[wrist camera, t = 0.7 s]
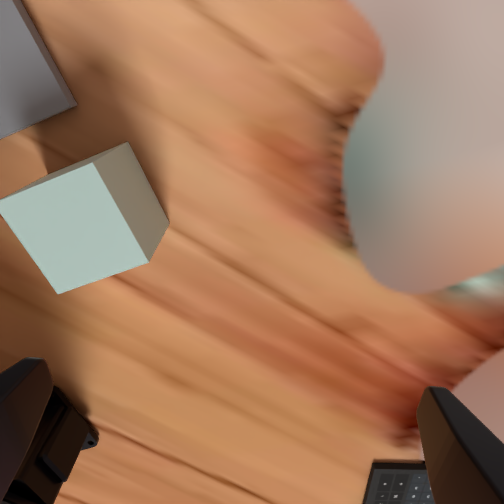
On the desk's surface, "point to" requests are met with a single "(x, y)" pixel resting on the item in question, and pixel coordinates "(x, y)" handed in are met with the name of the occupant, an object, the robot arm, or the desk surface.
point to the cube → (88, 219)
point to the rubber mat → (27, 73)
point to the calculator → (398, 484)
